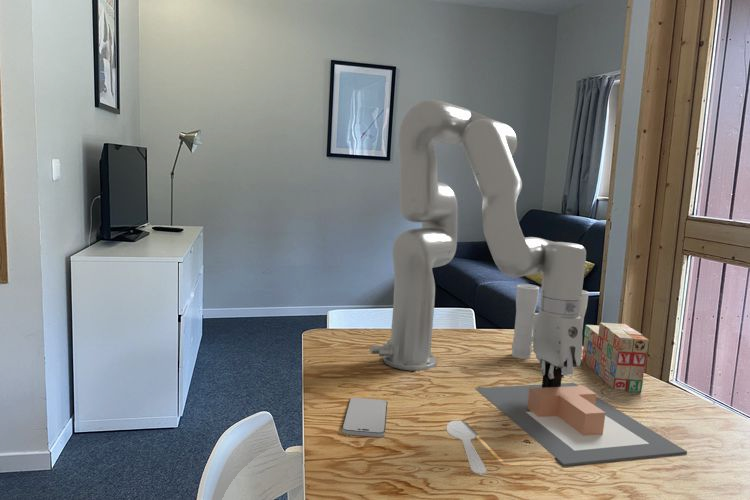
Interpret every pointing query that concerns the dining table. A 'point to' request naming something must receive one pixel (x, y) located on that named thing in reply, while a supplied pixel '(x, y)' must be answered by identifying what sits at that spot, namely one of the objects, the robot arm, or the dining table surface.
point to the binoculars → (531, 319)
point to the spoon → (467, 444)
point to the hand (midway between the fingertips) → (550, 395)
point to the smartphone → (365, 417)
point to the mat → (572, 447)
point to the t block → (569, 407)
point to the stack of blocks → (616, 355)
